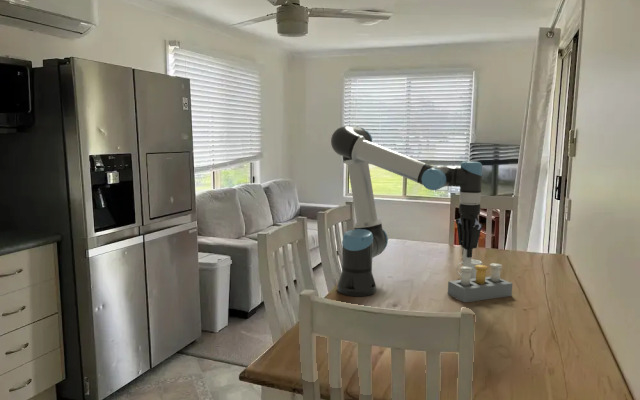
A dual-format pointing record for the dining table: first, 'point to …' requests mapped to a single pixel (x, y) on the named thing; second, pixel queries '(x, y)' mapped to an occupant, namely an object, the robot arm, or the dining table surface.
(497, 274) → the far plug
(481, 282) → the ochre plug
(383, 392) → the dining table surface
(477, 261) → the cup
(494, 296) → the board
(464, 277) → the near plug
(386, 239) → the robot arm
